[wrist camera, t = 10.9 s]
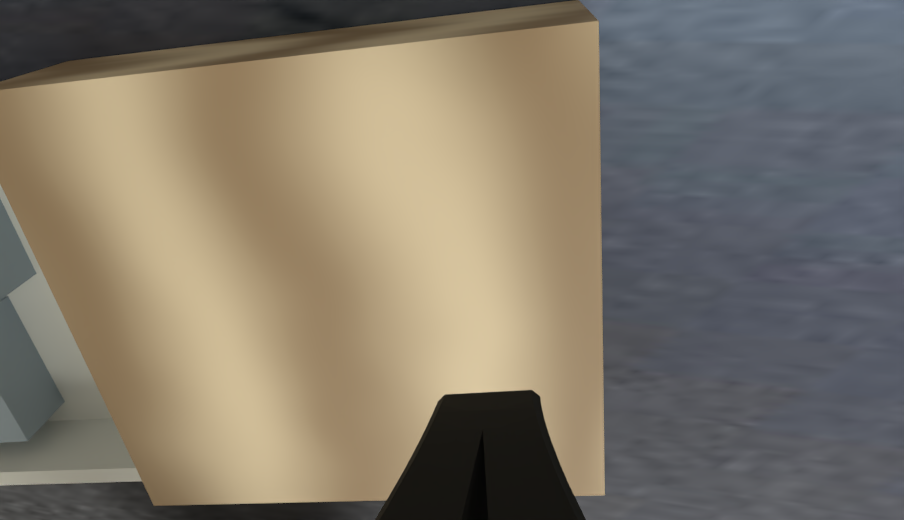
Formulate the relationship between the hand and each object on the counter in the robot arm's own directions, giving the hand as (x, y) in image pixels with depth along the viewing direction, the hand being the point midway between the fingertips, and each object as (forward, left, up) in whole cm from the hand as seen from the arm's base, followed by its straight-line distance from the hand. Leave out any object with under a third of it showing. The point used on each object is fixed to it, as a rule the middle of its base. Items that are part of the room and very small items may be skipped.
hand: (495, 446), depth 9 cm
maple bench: (-5, +2, -11) cm, 12 cm away
